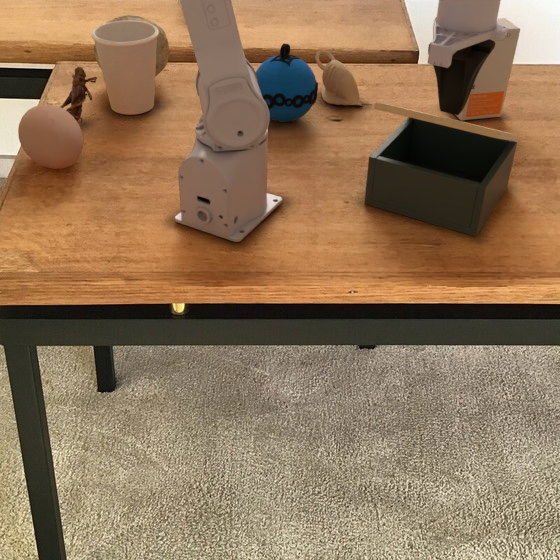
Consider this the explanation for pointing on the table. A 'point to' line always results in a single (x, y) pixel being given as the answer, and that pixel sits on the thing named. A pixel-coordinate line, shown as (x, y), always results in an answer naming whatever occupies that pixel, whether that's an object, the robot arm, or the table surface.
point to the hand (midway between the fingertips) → (451, 110)
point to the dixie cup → (128, 64)
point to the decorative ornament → (338, 82)
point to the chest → (439, 175)
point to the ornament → (287, 86)
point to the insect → (78, 93)
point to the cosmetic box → (493, 77)
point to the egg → (50, 136)
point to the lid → (447, 122)
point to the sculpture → (161, 48)
